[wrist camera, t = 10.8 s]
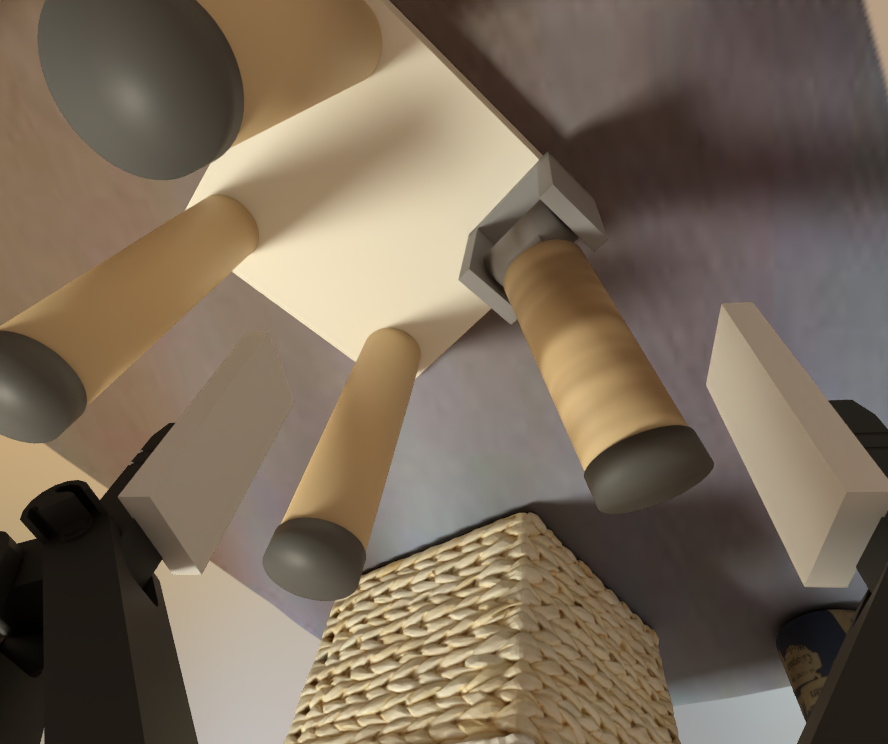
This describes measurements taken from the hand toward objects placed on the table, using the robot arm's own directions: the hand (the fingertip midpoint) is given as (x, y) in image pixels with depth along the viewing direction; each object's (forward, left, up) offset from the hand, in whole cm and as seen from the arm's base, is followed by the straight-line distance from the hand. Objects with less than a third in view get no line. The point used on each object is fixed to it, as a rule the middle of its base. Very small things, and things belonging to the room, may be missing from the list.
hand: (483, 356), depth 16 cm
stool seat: (-4, -6, -19) cm, 20 cm away
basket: (+30, -33, -19) cm, 48 cm away
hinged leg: (+7, 0, -8) cm, 10 cm away
